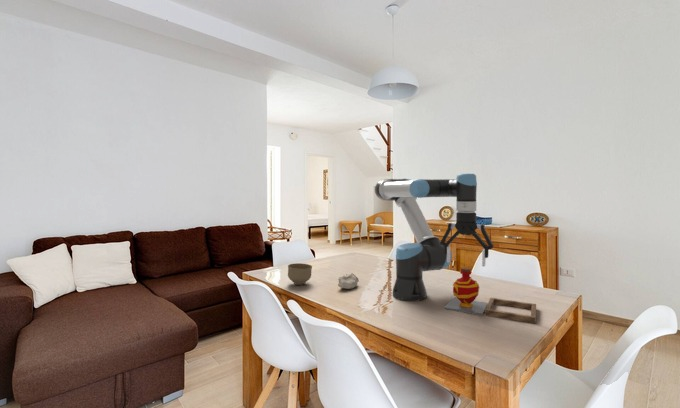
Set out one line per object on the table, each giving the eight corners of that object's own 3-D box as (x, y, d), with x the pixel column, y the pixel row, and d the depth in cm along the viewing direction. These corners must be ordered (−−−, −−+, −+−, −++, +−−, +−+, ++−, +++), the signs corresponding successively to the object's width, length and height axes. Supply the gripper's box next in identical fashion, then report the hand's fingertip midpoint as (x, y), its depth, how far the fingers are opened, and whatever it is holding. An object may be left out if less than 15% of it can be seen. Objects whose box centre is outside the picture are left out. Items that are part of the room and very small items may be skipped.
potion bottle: (482, 309, 127) (482, 271, 127) (454, 308, 129) (454, 270, 129) (476, 301, 137) (476, 266, 137) (451, 300, 139) (450, 265, 139)
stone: (358, 293, 164) (362, 274, 167) (347, 287, 154) (351, 267, 158) (345, 292, 167) (349, 273, 171) (333, 286, 158) (338, 266, 162)
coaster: (444, 308, 131) (444, 307, 131) (452, 298, 143) (452, 297, 143) (482, 315, 124) (482, 313, 124) (487, 304, 135) (487, 302, 135)
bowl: (311, 287, 164) (310, 267, 163) (286, 287, 164) (285, 268, 163) (313, 280, 176) (313, 262, 176) (290, 281, 176) (289, 262, 176)
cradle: (484, 314, 124) (484, 309, 124) (490, 302, 138) (490, 297, 138) (535, 323, 115) (535, 317, 115) (536, 309, 129) (536, 304, 129)
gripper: (432, 211, 135) (432, 262, 136) (499, 213, 122) (498, 269, 123) (437, 210, 142) (437, 258, 143) (501, 212, 129) (500, 265, 130)
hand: (465, 263), depth 133 cm, fingers open, 13 cm apart
